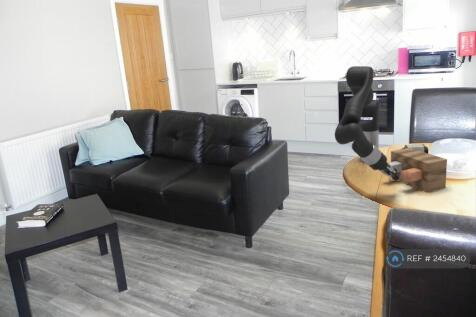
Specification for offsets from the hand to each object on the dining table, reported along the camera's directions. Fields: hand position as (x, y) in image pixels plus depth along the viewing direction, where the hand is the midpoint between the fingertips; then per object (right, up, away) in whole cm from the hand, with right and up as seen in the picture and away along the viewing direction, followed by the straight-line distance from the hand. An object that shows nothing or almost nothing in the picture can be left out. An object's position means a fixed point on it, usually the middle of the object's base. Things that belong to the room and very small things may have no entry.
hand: (396, 179), depth 172 cm
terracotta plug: (+10, -1, +4) cm, 10 cm away
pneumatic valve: (+22, +5, +33) cm, 40 cm away
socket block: (+14, -2, +12) cm, 19 cm away
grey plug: (+6, +2, +15) cm, 16 cm away
